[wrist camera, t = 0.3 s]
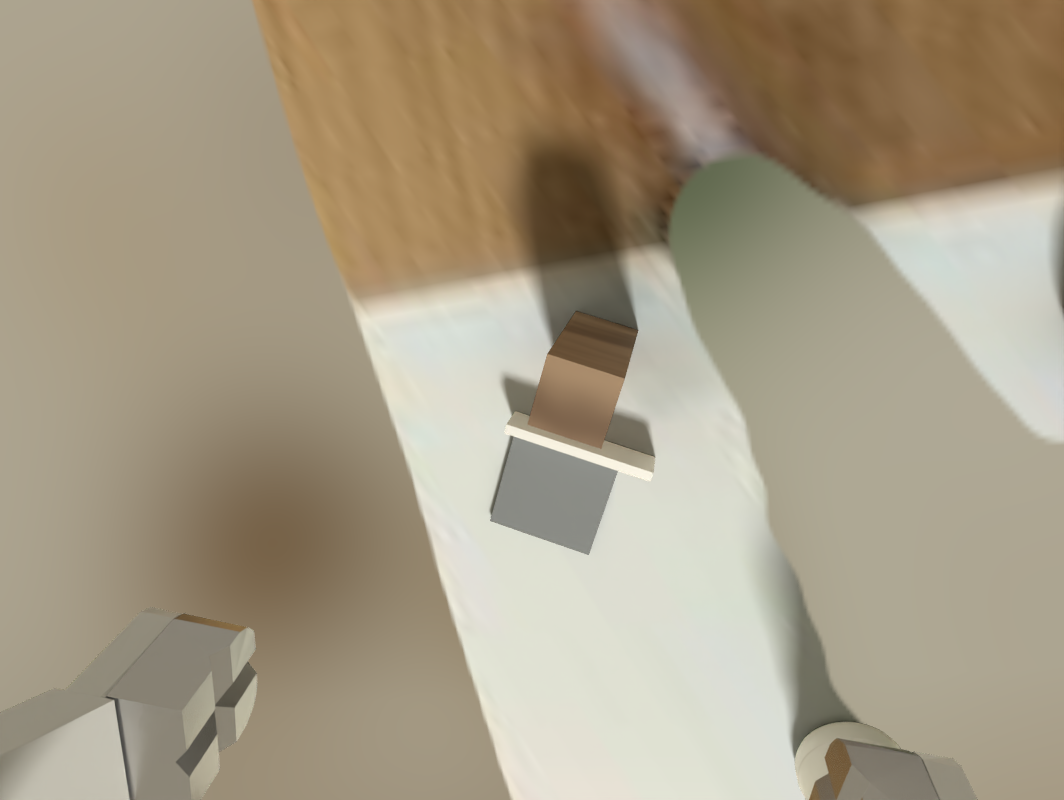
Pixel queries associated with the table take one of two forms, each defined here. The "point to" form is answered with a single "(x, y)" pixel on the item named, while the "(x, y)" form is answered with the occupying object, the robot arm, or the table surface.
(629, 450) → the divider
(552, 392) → the walnut block
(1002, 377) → the table surface
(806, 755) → the vodka
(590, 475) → the coaster
